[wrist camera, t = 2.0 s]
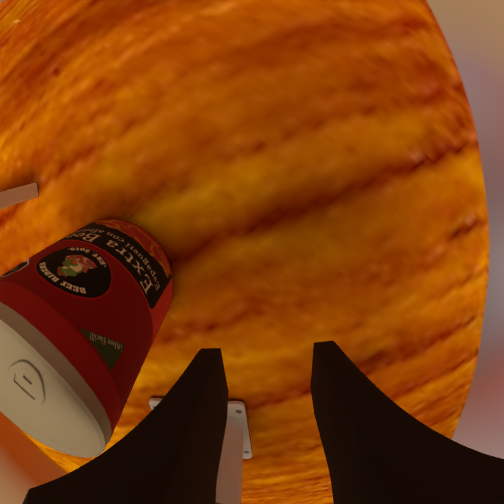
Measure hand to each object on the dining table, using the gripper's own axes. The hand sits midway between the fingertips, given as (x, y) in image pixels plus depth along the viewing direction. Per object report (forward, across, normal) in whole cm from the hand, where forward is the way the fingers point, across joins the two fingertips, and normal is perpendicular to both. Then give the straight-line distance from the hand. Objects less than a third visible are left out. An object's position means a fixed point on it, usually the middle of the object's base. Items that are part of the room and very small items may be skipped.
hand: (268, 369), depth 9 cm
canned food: (+9, +9, 0) cm, 12 cm away
